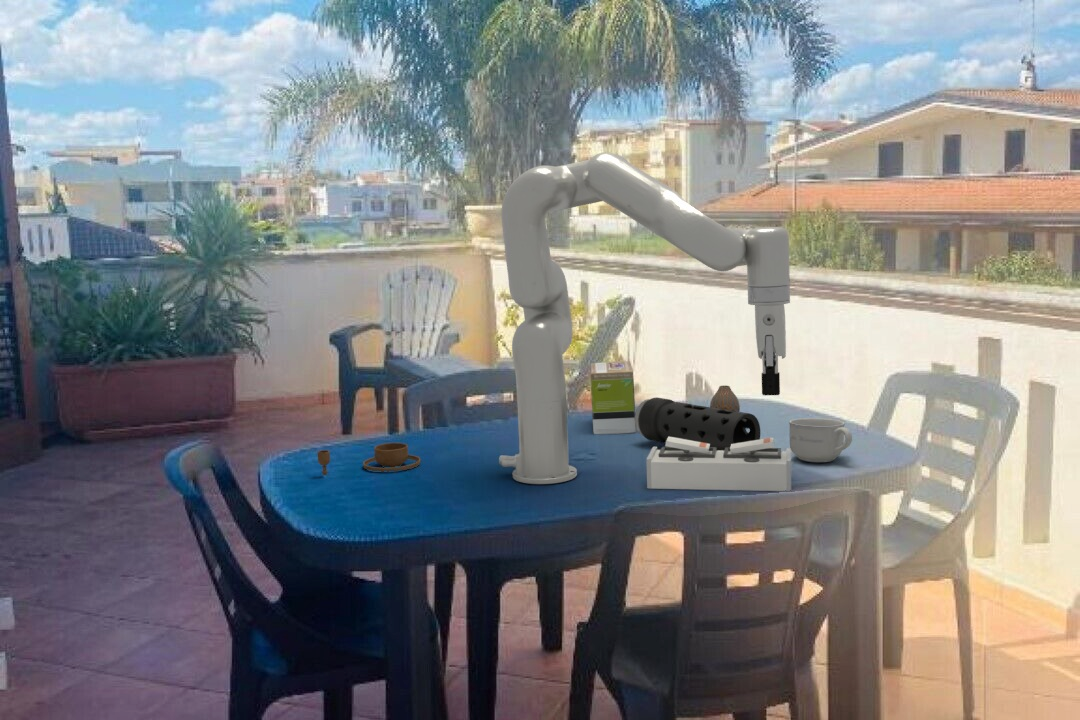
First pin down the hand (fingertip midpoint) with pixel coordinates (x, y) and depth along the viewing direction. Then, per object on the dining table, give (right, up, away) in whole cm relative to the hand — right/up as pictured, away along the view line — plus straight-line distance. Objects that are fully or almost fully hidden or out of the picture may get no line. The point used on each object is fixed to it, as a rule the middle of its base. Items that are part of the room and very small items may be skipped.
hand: (770, 394), depth 199 cm
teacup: (+14, -14, +16) cm, 25 cm away
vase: (+1, -9, +55) cm, 56 cm away
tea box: (-25, -10, +56) cm, 62 cm away
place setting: (-78, -17, +26) cm, 84 cm away
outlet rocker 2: (-3, -11, +2) cm, 11 cm away
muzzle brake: (-10, -13, +28) cm, 33 cm away
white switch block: (-9, -17, +3) cm, 19 cm away
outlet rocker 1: (-15, -11, +5) cm, 19 cm away
